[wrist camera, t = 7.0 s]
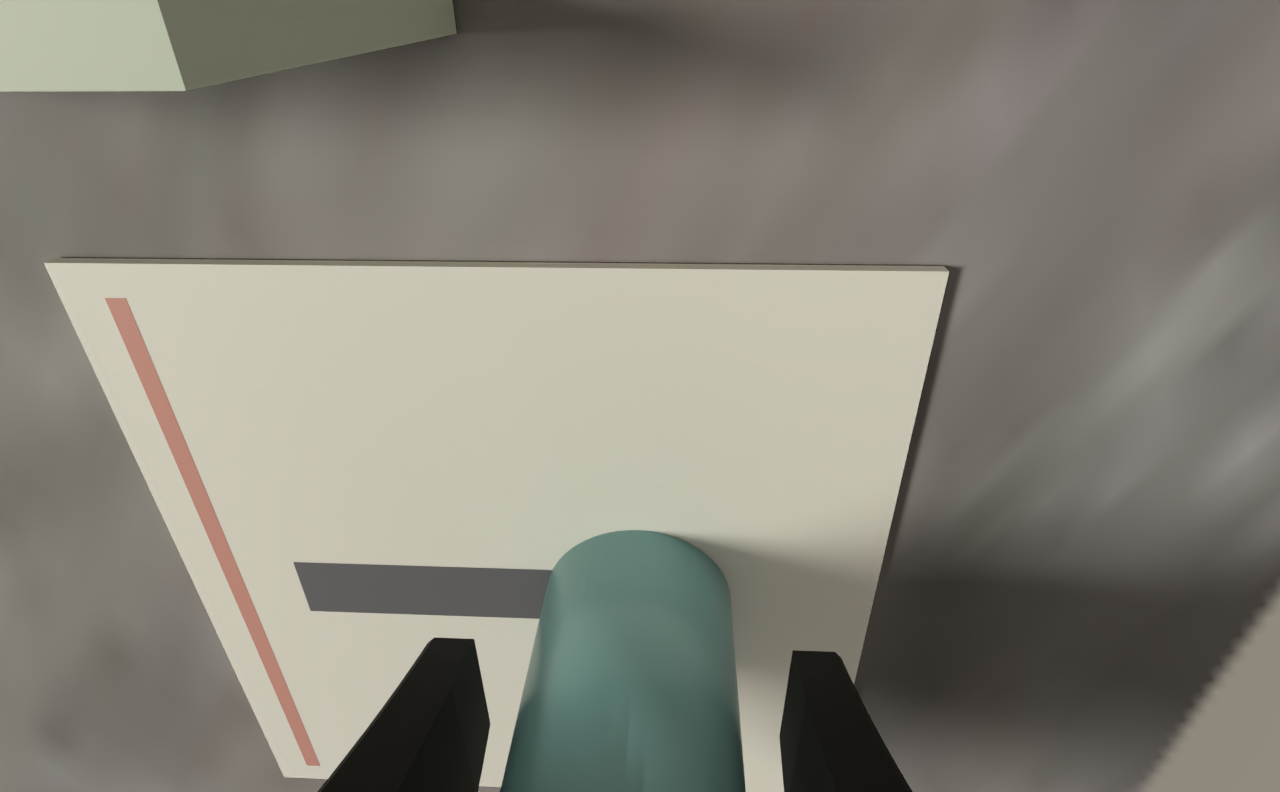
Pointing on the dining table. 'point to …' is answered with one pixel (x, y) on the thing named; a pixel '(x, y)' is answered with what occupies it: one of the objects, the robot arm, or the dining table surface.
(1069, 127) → the dining table surface
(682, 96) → the dining table surface
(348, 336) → the paper
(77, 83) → the word card
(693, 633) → the teal cylinder
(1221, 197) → the dining table surface
